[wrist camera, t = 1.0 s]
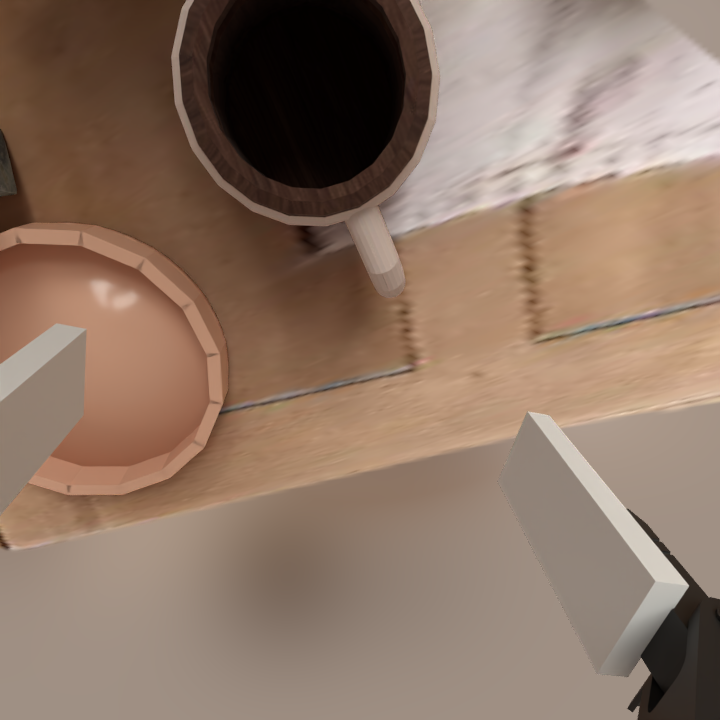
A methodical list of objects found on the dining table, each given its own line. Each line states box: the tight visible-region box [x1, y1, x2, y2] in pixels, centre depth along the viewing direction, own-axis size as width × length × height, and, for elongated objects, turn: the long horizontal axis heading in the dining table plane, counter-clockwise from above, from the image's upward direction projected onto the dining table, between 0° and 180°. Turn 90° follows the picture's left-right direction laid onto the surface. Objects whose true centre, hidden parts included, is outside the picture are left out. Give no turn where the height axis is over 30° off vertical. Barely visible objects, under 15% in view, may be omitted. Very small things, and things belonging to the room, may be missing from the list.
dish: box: [0, 222, 229, 495], centre depth 40 cm, size 22×22×4 cm
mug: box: [171, 0, 440, 298], centre depth 30 cm, size 20×15×15 cm
